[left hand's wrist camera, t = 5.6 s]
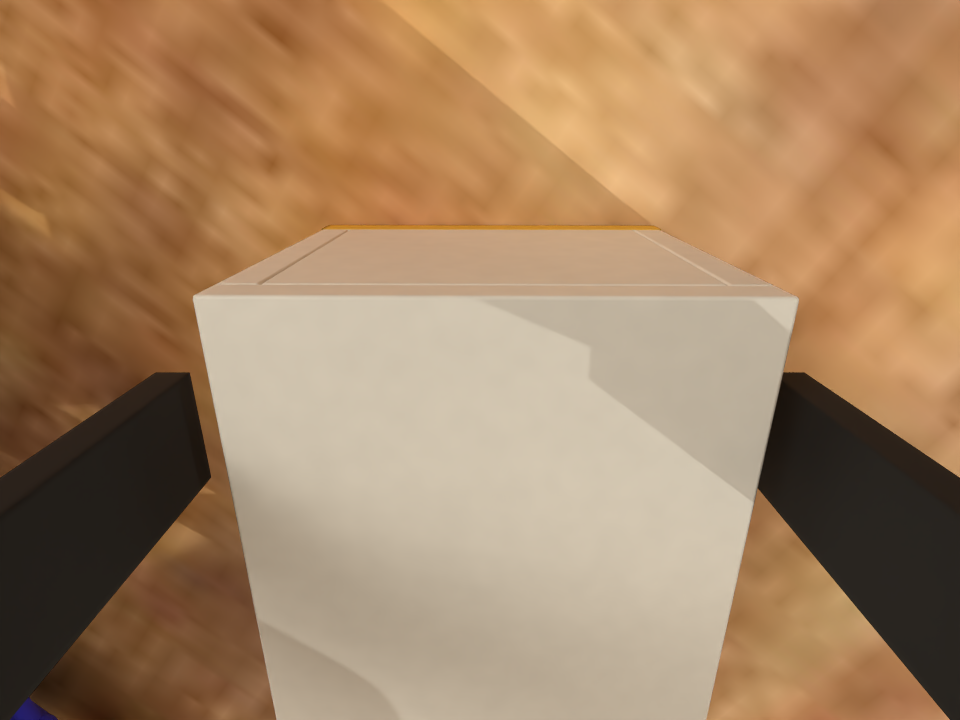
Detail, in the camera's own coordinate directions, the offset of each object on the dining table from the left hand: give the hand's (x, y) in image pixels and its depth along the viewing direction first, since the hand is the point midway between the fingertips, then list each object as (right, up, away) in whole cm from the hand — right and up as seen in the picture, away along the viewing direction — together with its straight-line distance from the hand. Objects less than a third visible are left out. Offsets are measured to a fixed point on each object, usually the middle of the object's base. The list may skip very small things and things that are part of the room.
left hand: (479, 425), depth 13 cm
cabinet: (0, -1, +8) cm, 8 cm away
